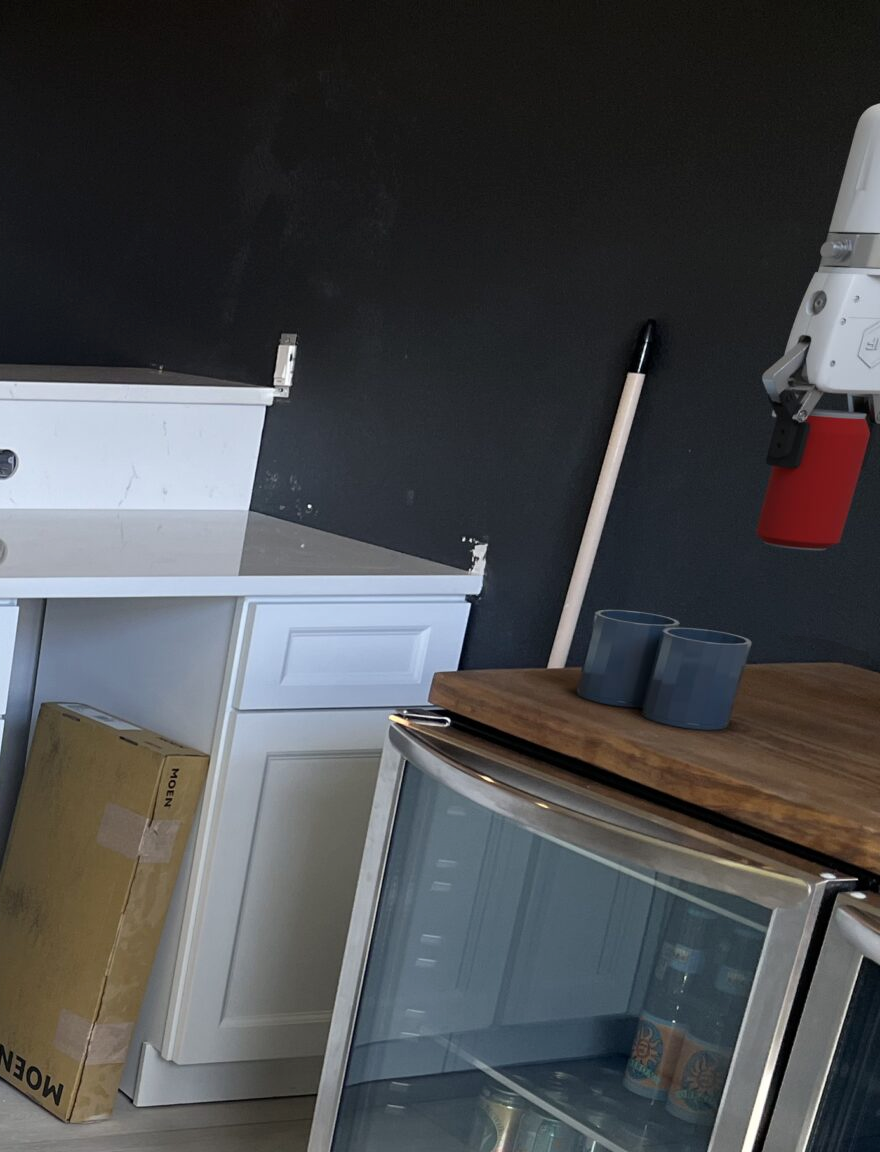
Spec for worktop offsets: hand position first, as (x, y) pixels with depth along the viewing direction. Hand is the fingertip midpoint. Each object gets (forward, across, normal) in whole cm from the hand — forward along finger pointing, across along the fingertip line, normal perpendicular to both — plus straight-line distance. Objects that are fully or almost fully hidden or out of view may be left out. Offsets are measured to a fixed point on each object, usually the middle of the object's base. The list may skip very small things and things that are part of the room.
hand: (815, 465), depth 170 cm
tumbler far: (+23, -8, +8) cm, 26 cm away
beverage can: (+8, 0, 0) cm, 8 cm away
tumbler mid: (+23, -8, 0) cm, 25 cm away
